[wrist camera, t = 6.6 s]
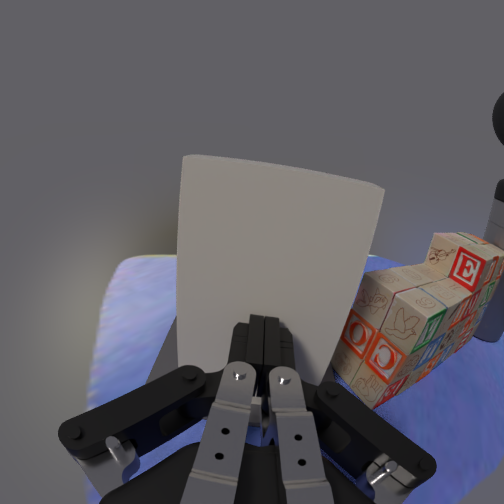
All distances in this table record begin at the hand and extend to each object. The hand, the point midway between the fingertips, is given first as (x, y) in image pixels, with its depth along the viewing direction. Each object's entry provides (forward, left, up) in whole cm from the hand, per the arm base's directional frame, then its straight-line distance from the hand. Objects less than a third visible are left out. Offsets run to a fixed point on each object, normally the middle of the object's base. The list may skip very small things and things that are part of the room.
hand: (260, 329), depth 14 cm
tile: (-1, -1, -7) cm, 7 cm away
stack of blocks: (-19, +3, -8) cm, 21 cm away
